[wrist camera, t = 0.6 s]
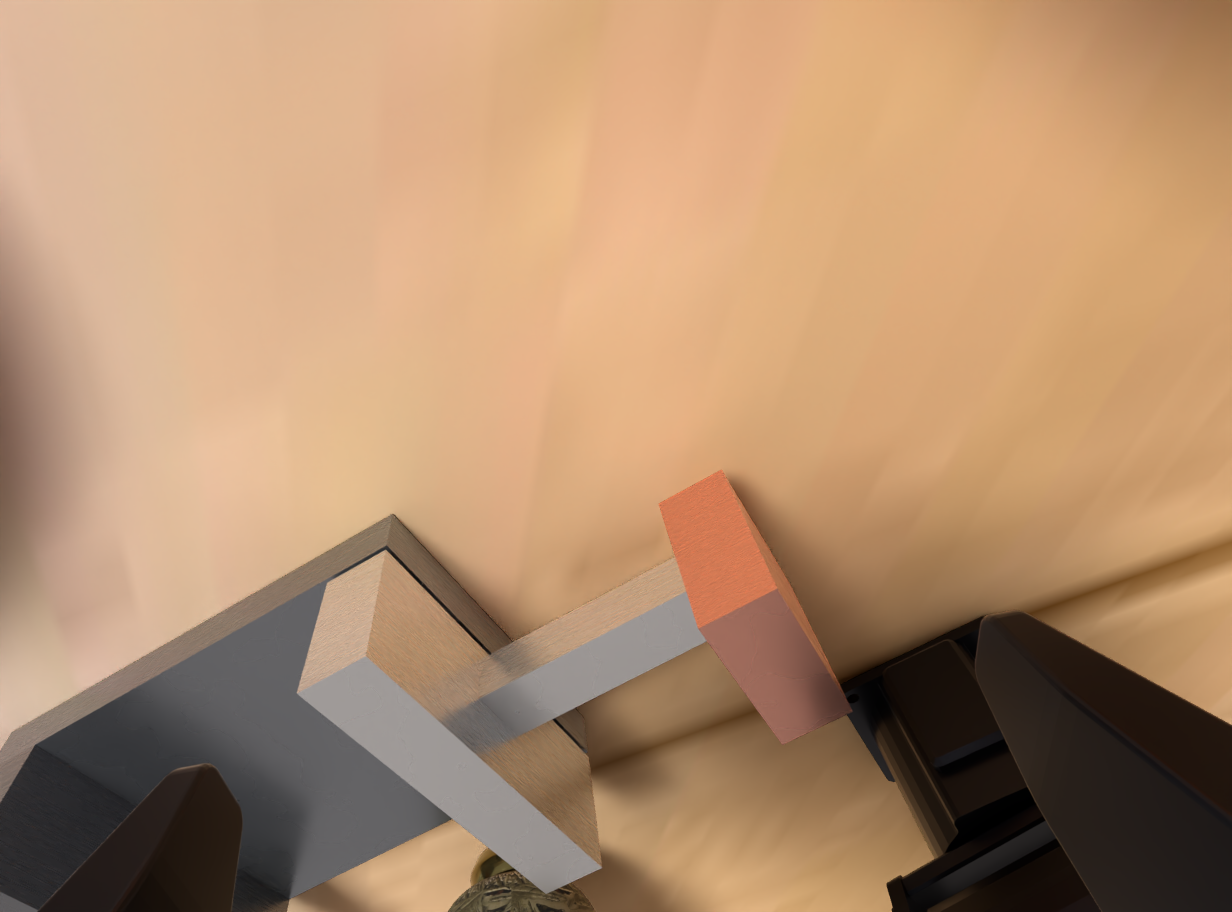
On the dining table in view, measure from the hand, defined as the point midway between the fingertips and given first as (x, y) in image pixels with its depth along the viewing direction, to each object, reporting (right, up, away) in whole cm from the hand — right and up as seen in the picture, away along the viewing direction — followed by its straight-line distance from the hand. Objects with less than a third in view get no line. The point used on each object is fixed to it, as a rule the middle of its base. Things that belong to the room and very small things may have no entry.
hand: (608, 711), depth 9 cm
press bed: (-10, -6, +18) cm, 21 cm away
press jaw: (-1, -2, +15) cm, 15 cm away
